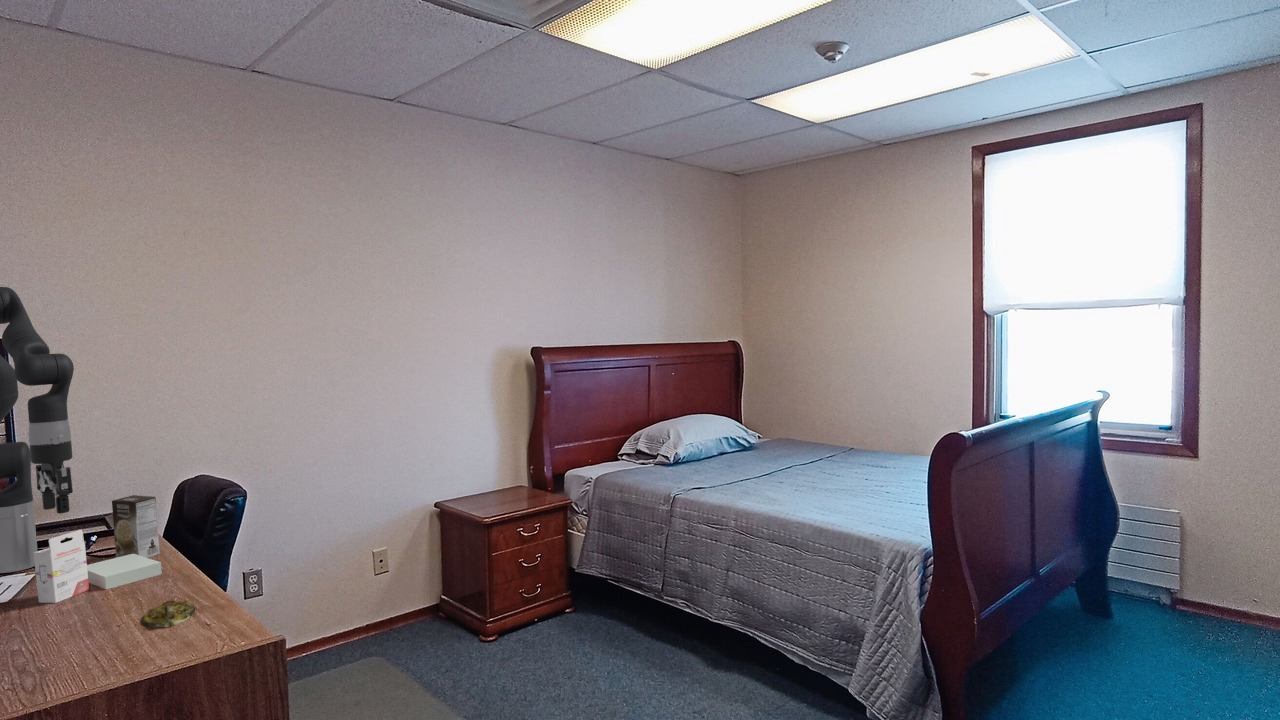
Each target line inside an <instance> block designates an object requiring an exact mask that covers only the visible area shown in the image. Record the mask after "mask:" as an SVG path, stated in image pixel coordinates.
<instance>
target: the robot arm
mask: <svg viewBox="0 0 1280 720" xmlns="http://www.w3.org/2000/svg"><path fill="white" fill-rule="evenodd" d="M5 324H7V326H6V327H5V329H4V330H3V332H2V335H1V344H2V347H3V348H4V350H5V351H6V352H7V353H8V355H9V356H10V358H12V361H13V365H14V367H13V366H12V365H11V363H10V362H8V361H7V360H6V359H5V358H4V356H2V355H1V354H0V424H1V423H2V422H3V420H4V419H5V417H6V416H8V414H9V413H10V412H11V410H12V409H13V407H14V406H15V404H16V403H17V401H18V398H19V386H18V382H19V383H20V384H22V385H24V386H29V387H33V386H34V387H35V386H45V385H46V386H47V385H51V387H50V390H49V391H48V392H46V393H44V394H41V395H37V396H33V397H31V398H29V399H28V401H27V413H28V414H27V415H28V424H29V425H28V442H29V445H28V443H27V442H25V441H15V442H5V443H0V480H3V479H12V478H15V481H14V482H12V484H9V486H7V487H5V488H3V489H1V490H0V574H4V573H5V574H7V573H15V572H19V571H23V570H26V569H27V570H28V569H30V568H33V567H34V568H35V561H34V552H37V551H38V543H37V531H36V518H35V507H34V497H33V496H34V495H33V488H32V487H33V486H32V466H31V465H32V464H34V465H35V474H36V477H35V478H36V489H37V491H39V493H40V495H41V498H42V499H41V501H42V509H43V510H46V511H47V510H53V509H55V508H56V509H55V510H56V514H65V513H68V512H70V500H69V496H70V494H73V492H74V490H73V483H72V482H73V481H72V472H71V470H72V468H71V467H70V466H67V467H66V466H65V465H64V462H66V461H67V462H68V461H70V460H71V459H73V448H72V447H73V445H72V434H71V433H72V432H71V427H70V422H69V417H68V397H69V392H70V391H69V390H70V386H71V383H72V380H73V376H74V363H73V361H72V359H71V358H70V357H69V356H68V355H66V354H64V353H51V351H50V348H49V346H48V344H47V343H46V342H45V340H43V337H41V335H40V334H39V333H38V332H37V331H36V330H35V328H34V326H33V324H32V321H31V319H30V317H29V314H28V312H27V310H26V308H25V306H24V304H23V302H22V300H21V297H20V296H19V295H18V294H17V292H16V291H15V290H14V289H12V288H11V287H8V286H0V325H5Z"/></svg>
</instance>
